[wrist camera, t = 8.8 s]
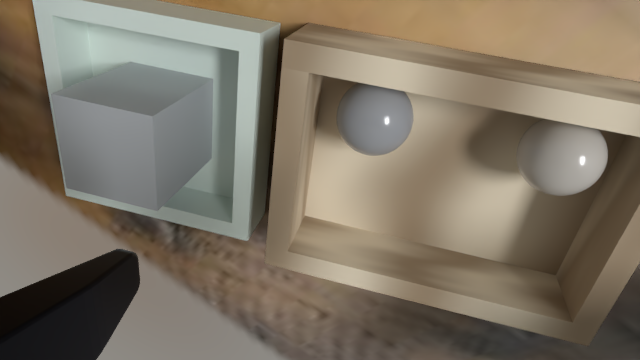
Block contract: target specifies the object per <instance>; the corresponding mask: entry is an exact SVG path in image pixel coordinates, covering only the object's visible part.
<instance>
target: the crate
mask: <svg viewBox="0 0 640 360" xmlns="http://www.w3.org/2000/svg"><path fill="white" fill-rule="evenodd" d="M358 82H359V83H364V84H369V85H374V86H380V87H385V88H390V89H395V90H400V91H404V92H405V93H406V94H407V96H408V97H409V99H410V101H411V104H412V107H413V113H414V121H413V126H412V129H411V132H410V134H409V136H408V138H407V139H406V140H405V142H404V143H403V144H402V145H401V146H400V147H399V148H397V149H396V150H394V151H392V152H390V153H388V154H385V155H380V156H369V155H364V154H361V153H359V152H357V151H355V150H353V149H352V148H350V147H349V146H348V145H347V144H346V143H345V141H344V140H343V139H342V137H341V135H340V133H339V130H338V127H337V121H336V115H337V108H338V105H339V102H340V100H341V98H342V97H343V95H344V94H345V93H346V91H347V90H348V89H349V88H351V87H352V86H353V85H355V84H356V83H358ZM543 118H544V119H549V120H554V121H559V122H565V123H570V124H575V125H580V126H585V127H590V128H595V129H598V130H599V131H600V132H601V134H602V135H603V137H604V139H605V141H606V144H607V148H608V160H607V164H606V167H605V170H604V172H603V173H602V175H601V177H600V178H599V179H598V180H597V181H596V182H595V183H594V184H593V185H592V186H591V187H589V188H587V189H586V190H584V191H582V192H579V193H576V194H573V195H567V196H555V195H549V194H546V193H543V192H540V191H538V190H537V189H535V188H533V187H532V186H531V185H529V184H528V183H527V182H526V181H525V179H524V178H523V177H522V175H521V173H520V171H519V169H518V166H517V161H516V152H517V146H518V143H519V141H520V139H521V137H522V136H523V134H524V133H525V132H526V130H527V129H528V128H529V127H530V126H532V125H533V124H534V123H536V122H537V121H539V120H541V119H543ZM639 263H640V82H636V81H630V80H625V79H619V78H614V77H608V76H602V75H597V74H591V73H586V72H580V71H575V70H569V69H563V68H558V67H552V66H547V65H541V64H536V63H530V62H524V61H519V60H513V59H508V58H502V57H496V56H491V55H485V54H480V53H474V52H469V51H463V50H457V49H452V48H446V47H441V46H435V45H430V44H424V43H418V42H413V41H407V40H402V39H396V38H391V37H385V36H379V35H374V34H368V33H363V32H357V31H351V30H346V29H340V28H335V27H329V26H324V25H318V24H312V23H308V24H306V25H305V26H303V27H302V28H300V29H299V30H297V31H296V32H294V33H292V34H291V35H289V36H288V37H286V38H285V39H284V46H283V58H282V69H281V80H280V92H279V103H278V114H277V126H276V137H275V149H274V160H273V171H272V183H271V194H270V205H269V217H268V228H267V239H266V251H265V262H264V264H268V265H272V266H276V267H280V268H284V269H288V270H292V271H296V272H300V273H304V274H307V275H311V276H315V277H319V278H323V279H327V280H331V281H335V282H339V283H343V284H346V285H350V286H354V287H358V288H362V289H366V290H370V291H374V292H378V293H382V294H386V295H389V296H393V297H397V298H401V299H405V300H409V301H413V302H417V303H421V304H425V305H428V306H432V307H436V308H440V309H444V310H448V311H452V312H456V313H460V314H464V315H468V316H471V317H475V318H479V319H483V320H487V321H491V322H495V323H499V324H503V325H507V326H510V327H514V328H518V329H522V330H526V331H530V332H534V333H538V334H542V335H546V336H550V337H553V338H557V339H561V340H565V341H569V342H573V343H577V344H581V345H585V346H589V344H590V343H591V341H592V339H593V338H594V336H595V335H596V333H597V331H598V330H599V328H600V326H601V325H602V323H603V322H604V320H605V318H606V317H607V315H608V313H609V312H610V310H611V308H612V307H613V305H614V304H615V302H616V300H617V299H618V297H619V295H620V294H621V292H622V290H623V289H624V287H625V286H626V284H627V282H628V281H629V279H630V277H631V276H632V274H633V272H634V271H635V269H636V268H637V266H638V264H639Z"/></svg>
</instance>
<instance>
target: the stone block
mask: <svg viewBox="0 0 640 360" xmlns="http://www.w3.org/2000/svg"><path fill="white" fill-rule="evenodd" d="M51 97H52V103H53V109H54V115H55V121H56V127H57V133H58V140H59V146H60V152H61V158H62V164H63V170H64V176H65V182H66V188H68V189H72V190H76V191H80V192H84V193H88V194H92V195H96V196H99V197H103V198H107V199H111V200H115V201H119V202H123V203H127V204H131V205H135V206H139V207H143V208H147V209H151V210H155V211H158V210H159V209H160V208H161V207H162V206H163V205H164V204H165V203H166V202H167V201H168V200H169V199H170V198H172V197H173V196H174V195H175V194H176V193H177V192H178V191H179V190H180V189H181V188H182V187H183V186H184V185H185V184H186V183H187V182H188V181H189V180H190V179H191V178H192V177H193V176H194V175H195V174H196V173H197V172H198V171H199V170H200V169H201V168H202V167H203V166H205V165H206V164H207V163H208V162H209V161H210V160H211V159H212V123H213V79H212V78H207V77H202V76H198V75H193V74H188V73H183V72H178V71H173V70H169V69H164V68H159V67H154V66H149V65H144V64H140V63H135V62H129V63H127V64H124V65H122V66H119V67H117V68H114V69H112V70H109V71H107V72H104V73H102V74H99V75H97V76H94V77H92V78H89V79H87V80H84V81H82V82H79V83H77V84H74V85H72V86H69V87H67V88H64V89H62V90H59V91H57V92H54V93H52V94H51Z"/></svg>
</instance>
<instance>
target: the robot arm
mask: <svg viewBox="0 0 640 360" xmlns="http://www.w3.org/2000/svg"><path fill="white" fill-rule="evenodd" d="M139 284H140V275H139V263H138V256H137V255H136V253H134V252H131V251H127V250H123V249H116V250H113V251H111V252H109V253H106V254H104V255H102V256H99V257H96V258H94V259H92V260H90V261H87V262H85V263H82V264H80V265H77V266H75V267H72V268H70V269H68V270H65V271H63V272H61V273H58V274H55V275H53V276H51V277H48V278H46V279H43V280H41V281H39V282H36V283H34V284H31V285H29V286H27V287H24V288H22V289H19V290H17V291H14V292H12V293H10V294H7V295H5V296H2V297H0V360H96V359H97V358H98V356H99V355H100V354H101V352H102V350H103V349H104V347H105V345H106V344H107V342H108V341H109V339H110V337H111V336H112V334H113V332H114V330H115V329H116V327H117V325H118V323H119V322H120V320H121V318H122V317H123V315H124V313H125V311H126V310H127V308H128V306H129V305H130V303H131V301H132V299H133V297H134V296H135V294H136V293H137V291H138V288H139Z"/></svg>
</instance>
